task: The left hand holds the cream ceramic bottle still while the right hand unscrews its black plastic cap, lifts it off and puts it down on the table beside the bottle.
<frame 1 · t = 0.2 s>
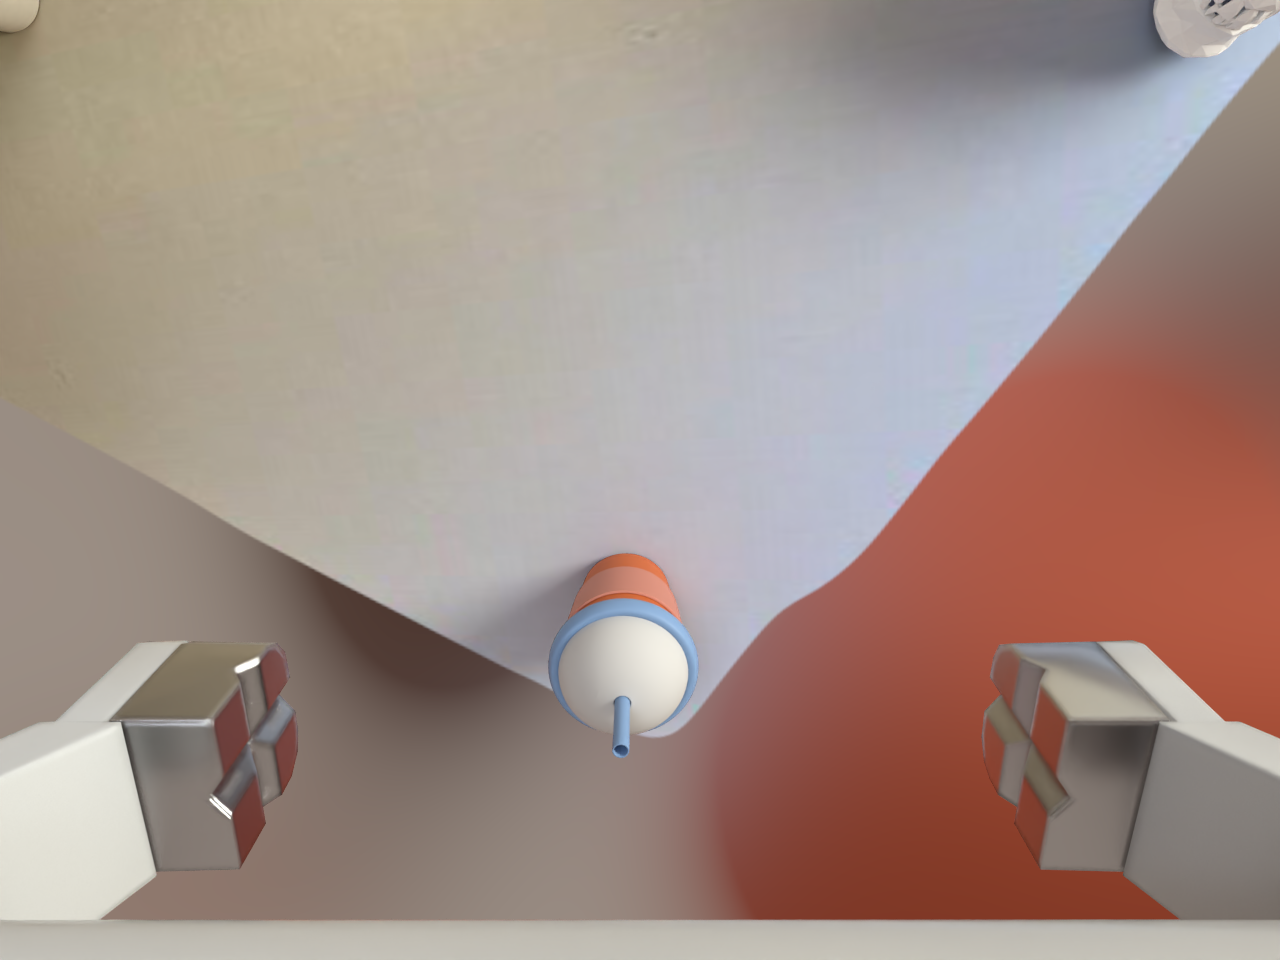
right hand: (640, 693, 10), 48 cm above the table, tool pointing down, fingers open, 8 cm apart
cup with straw: (625, 590, 63), on the table
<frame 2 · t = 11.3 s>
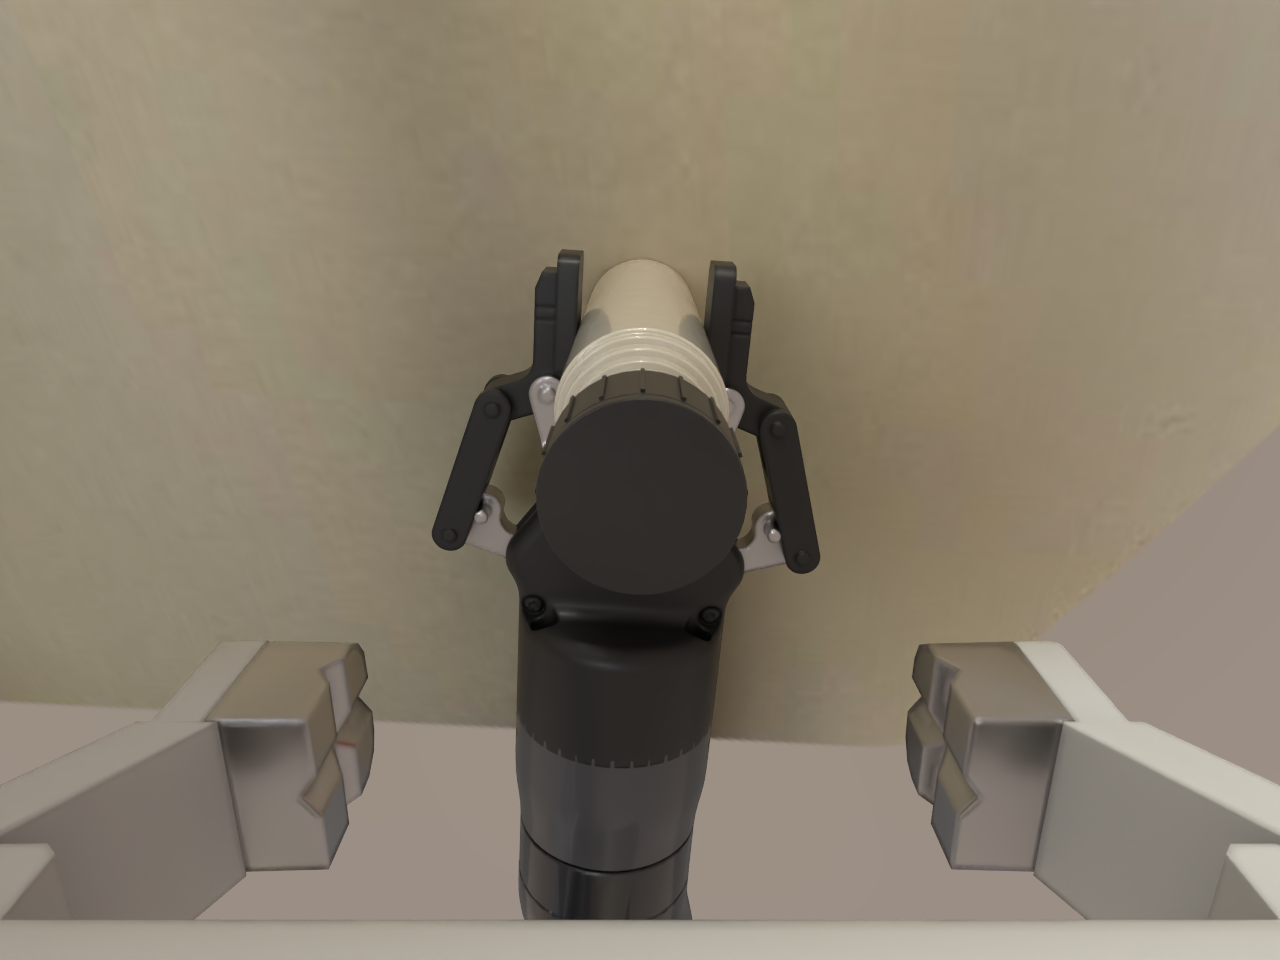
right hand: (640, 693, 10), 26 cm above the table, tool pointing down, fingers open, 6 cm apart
bottle: (641, 313, 35), on the table, touching left hand
cap: (641, 495, 16), point 20 cm above the table, screwed on, not yet turned
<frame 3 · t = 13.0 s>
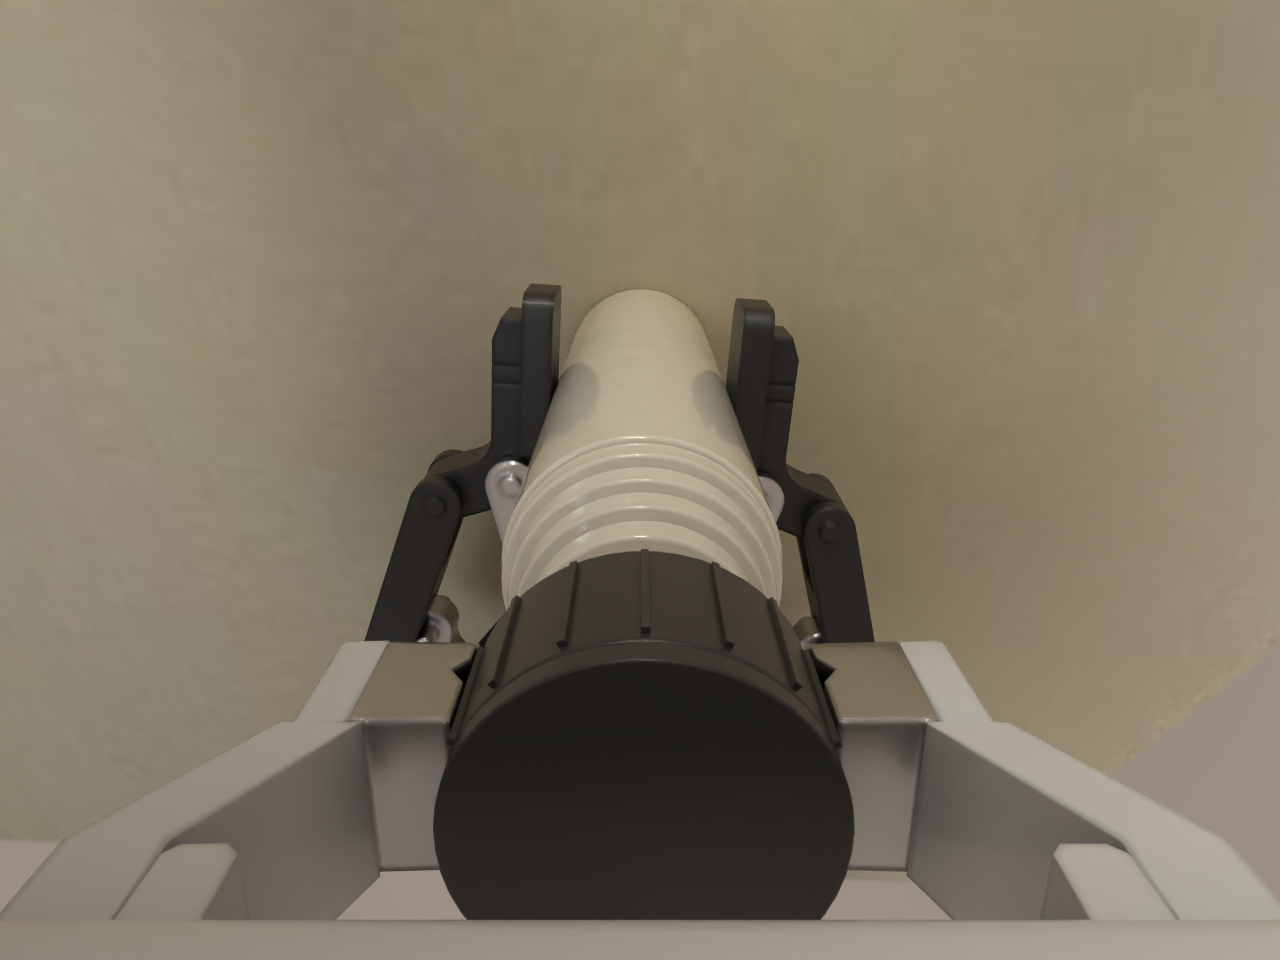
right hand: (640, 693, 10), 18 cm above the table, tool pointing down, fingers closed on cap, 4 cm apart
bottle: (640, 358, 27), on the table, touching left hand
cap: (643, 819, 8), point 20 cm above the table, screwed on, not yet turned, touching right hand
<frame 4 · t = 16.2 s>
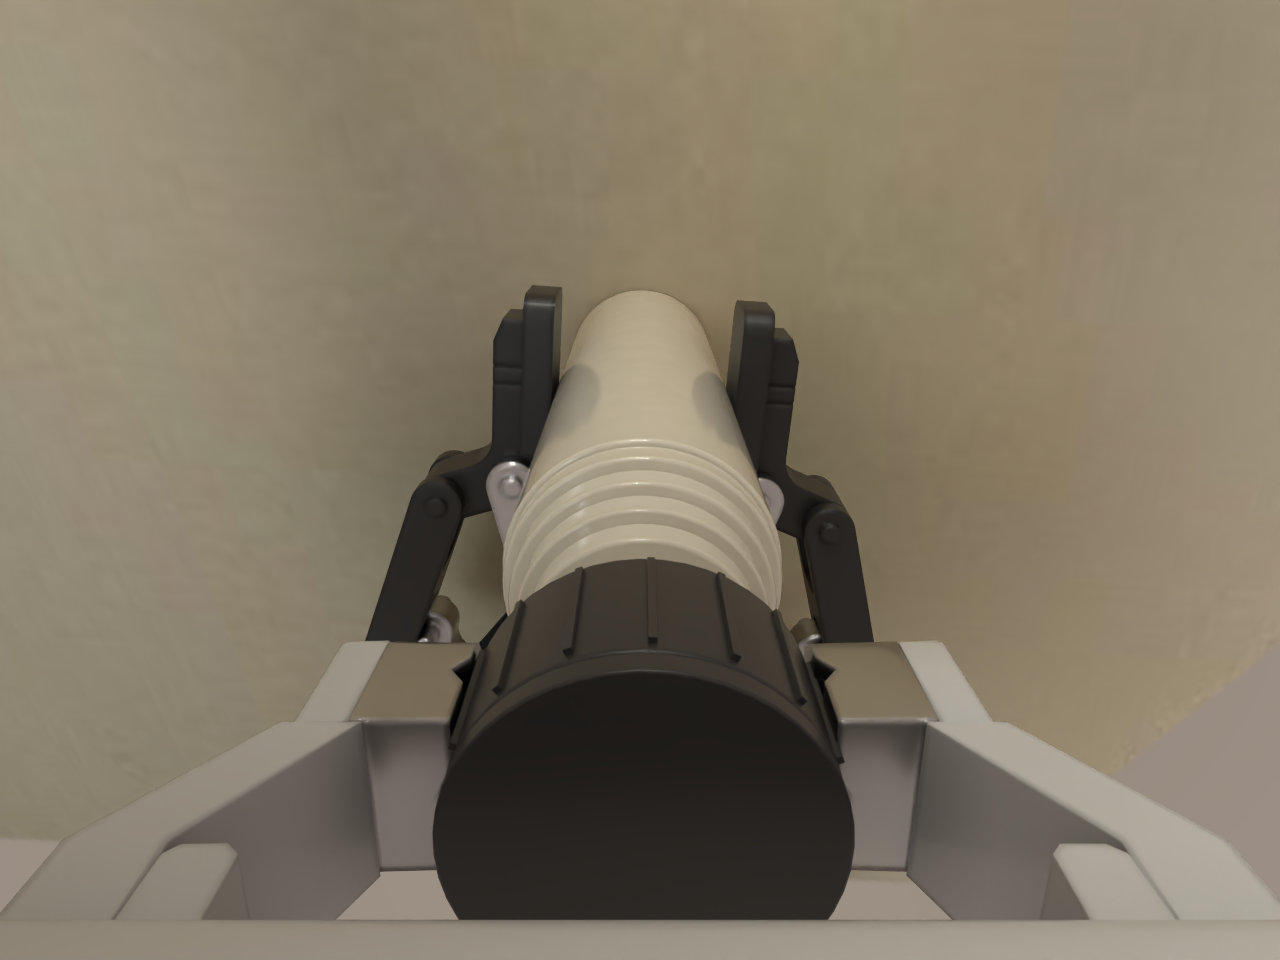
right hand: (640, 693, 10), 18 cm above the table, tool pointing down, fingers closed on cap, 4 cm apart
bottle: (641, 359, 27), on the table, touching left hand
cap: (643, 829, 8), point 20 cm above the table, turned 88° so far, risen 0.1 cm, still on its thread, touching right hand
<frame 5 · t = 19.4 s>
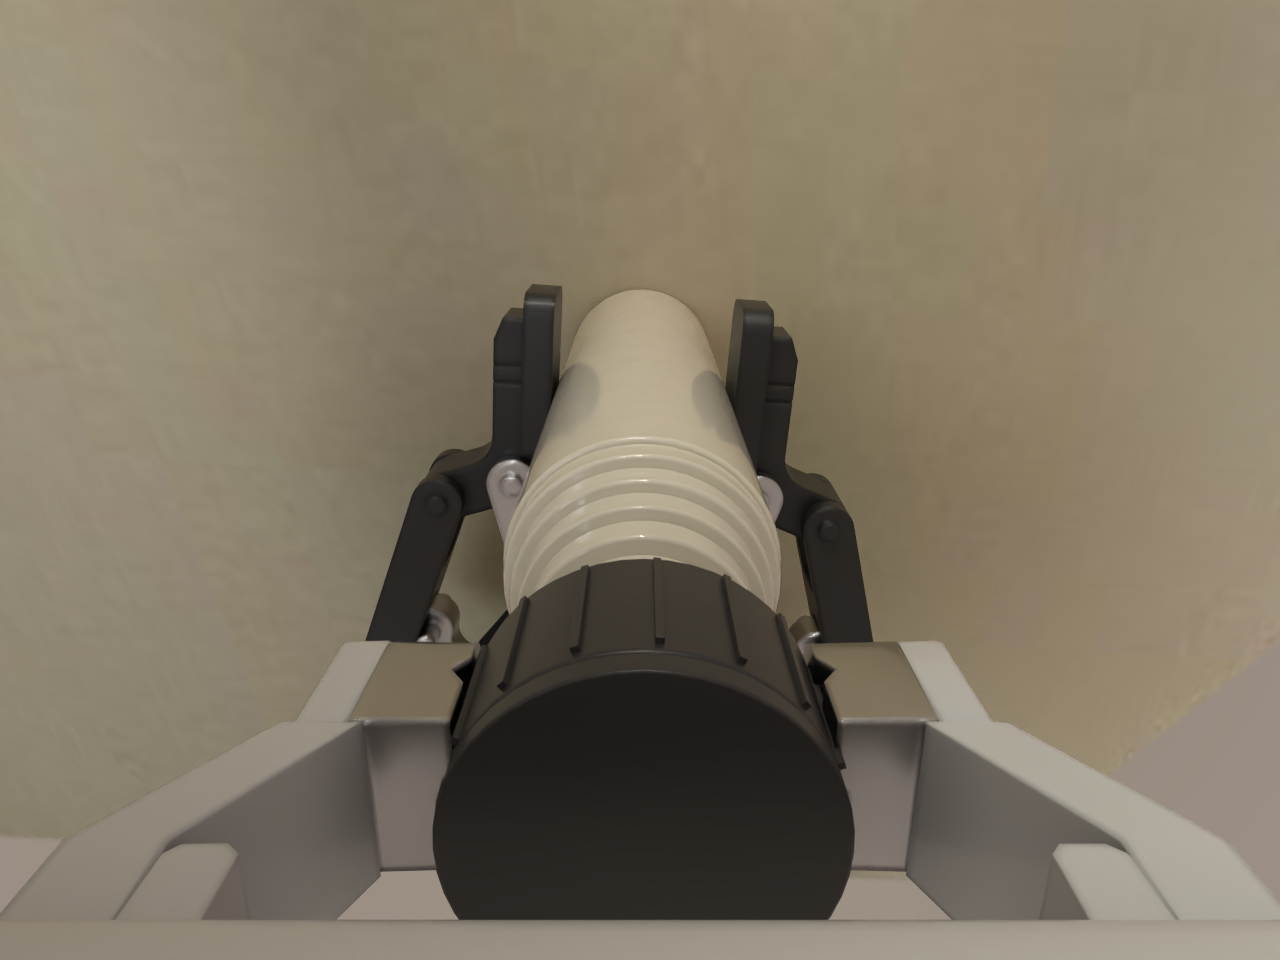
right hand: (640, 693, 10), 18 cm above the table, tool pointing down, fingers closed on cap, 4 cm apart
bottle: (640, 358, 27), on the table, touching left hand
cap: (643, 829, 8), point 20 cm above the table, turned 176° so far, risen 0.2 cm, still on its thread, touching right hand
when the right hand's fingers open (2 cm above the table, at t = 35.3 s): cap drops 2 cm, point 2 cm above the table.
when the left hand's fingers open (6 cm above the table, at t = 36.5 s): bottle stays where it is, on the table.
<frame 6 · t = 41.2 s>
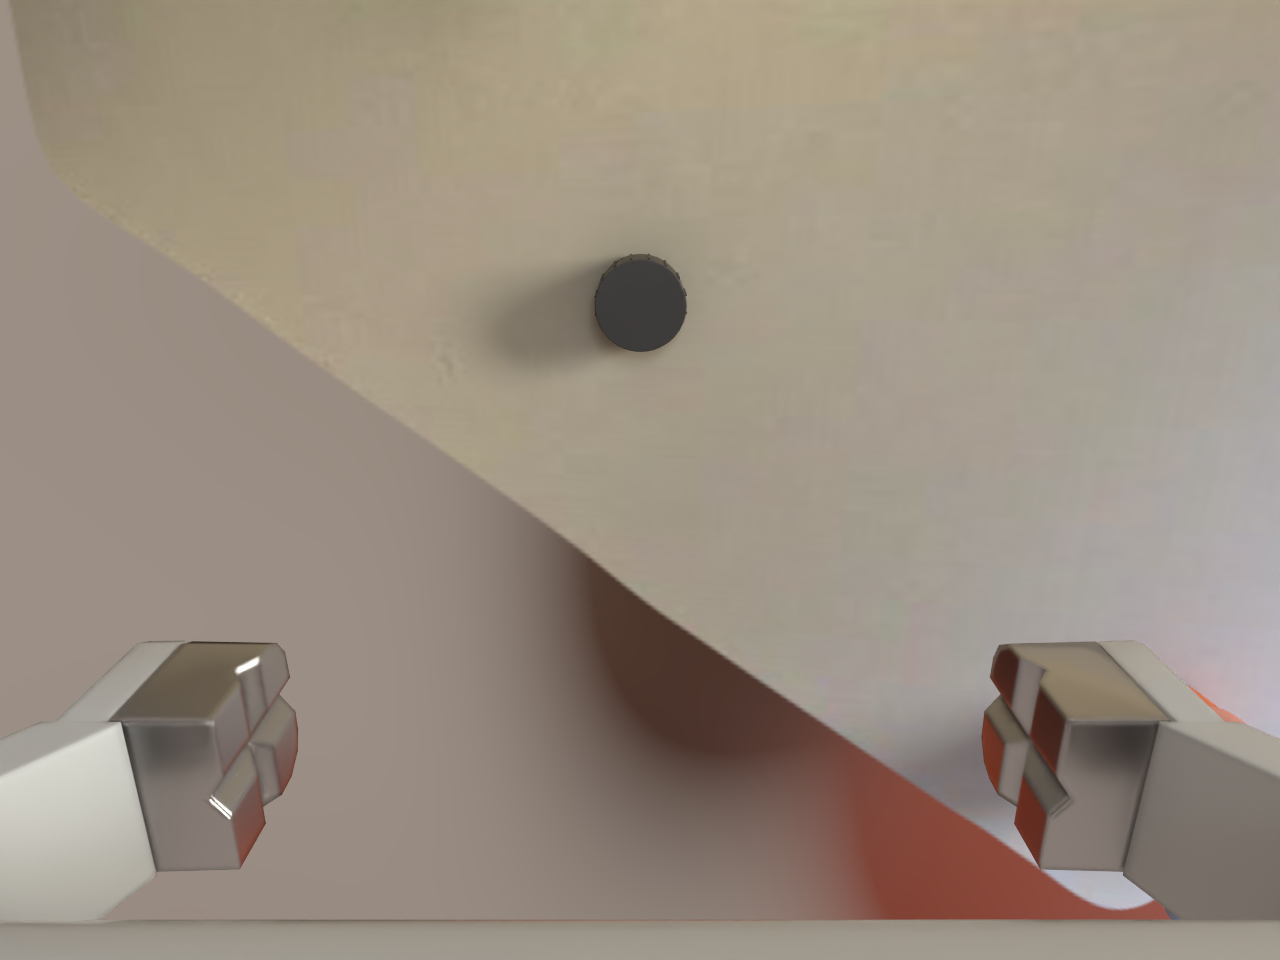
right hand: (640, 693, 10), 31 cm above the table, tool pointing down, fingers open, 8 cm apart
cap: (640, 305, 37), point 2 cm above the table, off its thread
cup with straw: (1142, 723, 47), on the table
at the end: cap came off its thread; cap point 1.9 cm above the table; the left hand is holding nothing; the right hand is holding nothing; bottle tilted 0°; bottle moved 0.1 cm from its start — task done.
